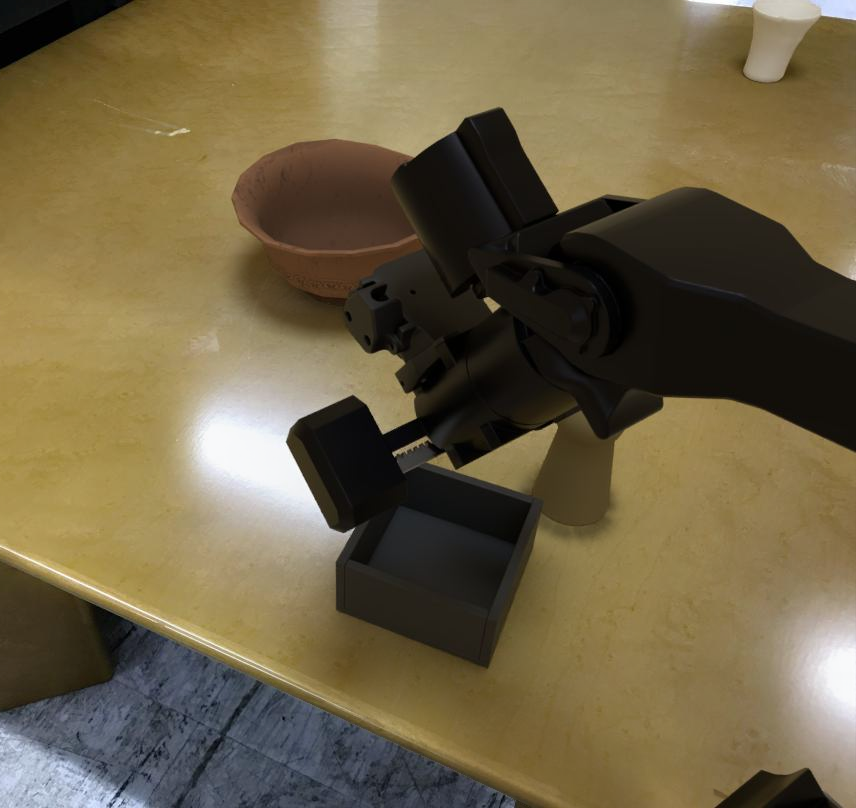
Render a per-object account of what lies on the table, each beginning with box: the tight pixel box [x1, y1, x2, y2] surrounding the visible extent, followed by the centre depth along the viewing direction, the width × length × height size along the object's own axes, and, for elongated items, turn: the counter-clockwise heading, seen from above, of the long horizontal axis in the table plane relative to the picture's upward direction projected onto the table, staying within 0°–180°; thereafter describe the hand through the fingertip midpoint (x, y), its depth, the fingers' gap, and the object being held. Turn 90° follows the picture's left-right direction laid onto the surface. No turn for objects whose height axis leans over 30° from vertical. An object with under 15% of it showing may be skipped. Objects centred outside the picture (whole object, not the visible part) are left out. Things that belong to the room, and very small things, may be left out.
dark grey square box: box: [335, 453, 544, 669], centre depth 65 cm, size 11×11×6 cm
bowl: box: [230, 138, 424, 307], centre depth 91 cm, size 22×22×11 cm
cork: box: [531, 411, 625, 527], centre depth 69 cm, size 6×6×11 cm
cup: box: [742, 0, 823, 84], centre depth 127 cm, size 9×9×10 cm
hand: (400, 449), depth 57 cm, fingers open, 9 cm apart
